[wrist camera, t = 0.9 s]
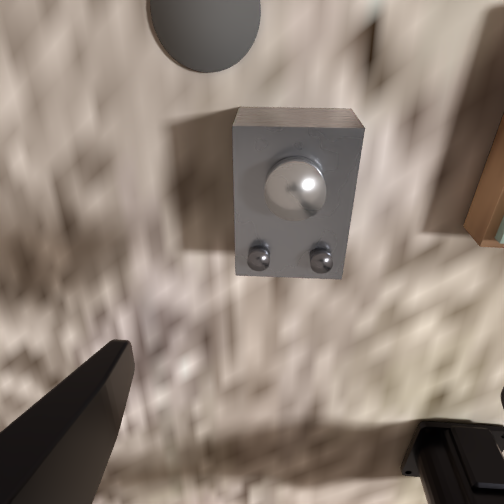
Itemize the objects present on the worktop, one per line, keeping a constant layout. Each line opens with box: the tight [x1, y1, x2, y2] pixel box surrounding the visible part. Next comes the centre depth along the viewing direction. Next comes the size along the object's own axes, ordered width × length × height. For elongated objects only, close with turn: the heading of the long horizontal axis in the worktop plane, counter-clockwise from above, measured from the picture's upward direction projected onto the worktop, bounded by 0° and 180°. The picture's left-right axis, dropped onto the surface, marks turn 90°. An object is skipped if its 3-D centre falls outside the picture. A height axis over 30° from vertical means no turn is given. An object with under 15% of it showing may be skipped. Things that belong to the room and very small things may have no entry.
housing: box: [232, 107, 365, 279], centre depth 18 cm, size 7×5×4 cm
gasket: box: [150, 0, 261, 72], centre depth 16 cm, size 4×4×1 cm
